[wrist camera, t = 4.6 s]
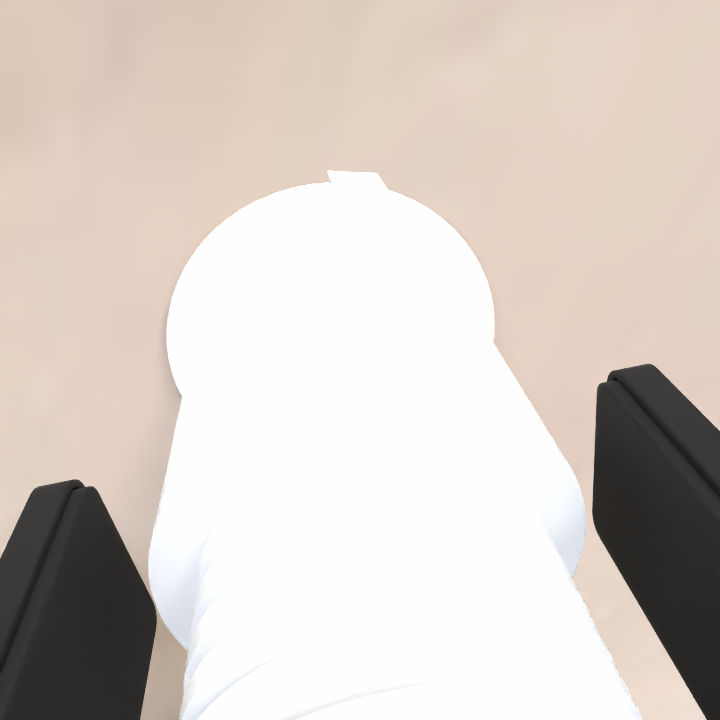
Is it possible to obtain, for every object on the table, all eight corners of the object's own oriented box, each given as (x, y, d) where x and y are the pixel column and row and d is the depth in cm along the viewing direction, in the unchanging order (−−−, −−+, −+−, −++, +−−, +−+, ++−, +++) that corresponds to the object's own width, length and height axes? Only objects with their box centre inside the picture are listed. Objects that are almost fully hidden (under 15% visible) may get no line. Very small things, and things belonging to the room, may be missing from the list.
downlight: (458, 475, 17) (654, 990, 8) (180, 480, 16) (74, 1072, 7) (520, 162, 13) (1027, 529, 4) (154, 142, 12) (-152, 569, 3)
